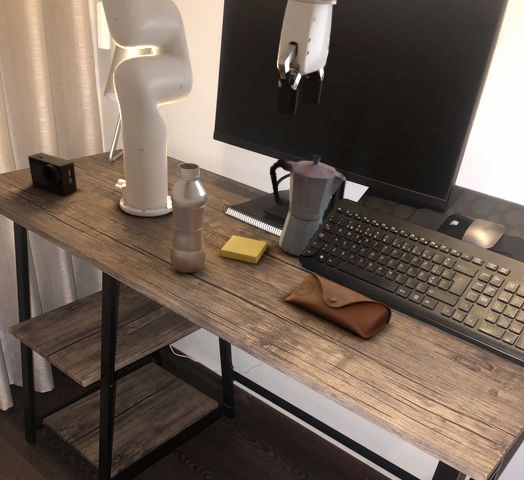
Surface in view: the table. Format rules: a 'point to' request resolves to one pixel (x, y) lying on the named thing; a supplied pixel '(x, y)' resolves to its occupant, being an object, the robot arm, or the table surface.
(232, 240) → the sticky note pad
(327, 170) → the moka pot
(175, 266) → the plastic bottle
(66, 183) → the digital camera
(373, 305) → the sunglasses case
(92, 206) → the table surface
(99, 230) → the table surface
